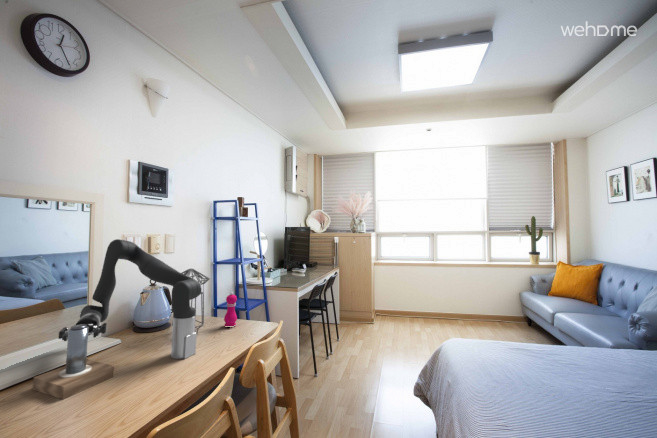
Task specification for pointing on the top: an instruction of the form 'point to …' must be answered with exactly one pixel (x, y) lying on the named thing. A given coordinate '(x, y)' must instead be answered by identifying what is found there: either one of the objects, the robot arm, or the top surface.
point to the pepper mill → (230, 310)
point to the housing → (77, 349)
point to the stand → (72, 379)
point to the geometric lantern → (201, 292)
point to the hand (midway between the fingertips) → (80, 336)
